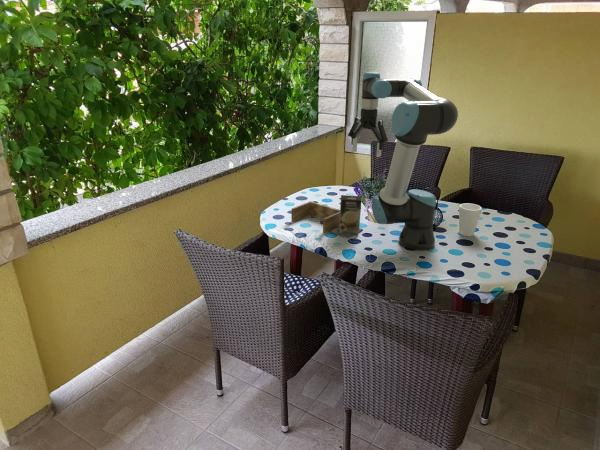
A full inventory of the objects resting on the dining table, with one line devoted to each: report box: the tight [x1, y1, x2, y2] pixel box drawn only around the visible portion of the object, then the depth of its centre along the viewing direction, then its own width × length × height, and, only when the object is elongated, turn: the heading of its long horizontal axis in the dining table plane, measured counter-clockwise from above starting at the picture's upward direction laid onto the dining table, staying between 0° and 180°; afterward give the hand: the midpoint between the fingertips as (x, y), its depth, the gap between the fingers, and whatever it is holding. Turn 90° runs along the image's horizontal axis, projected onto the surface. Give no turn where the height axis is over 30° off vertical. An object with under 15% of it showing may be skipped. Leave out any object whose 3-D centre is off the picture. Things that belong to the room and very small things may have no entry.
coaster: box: [329, 227, 364, 239], centre depth 208 cm, size 10×12×1 cm
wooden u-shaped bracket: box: [290, 200, 340, 234], centre depth 216 cm, size 20×14×7 cm
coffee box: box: [339, 194, 362, 235], centre depth 204 cm, size 9×6×16 cm
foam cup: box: [458, 202, 483, 237], centre depth 205 cm, size 10×9×13 cm
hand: (366, 154), depth 214 cm, fingers open, 13 cm apart
